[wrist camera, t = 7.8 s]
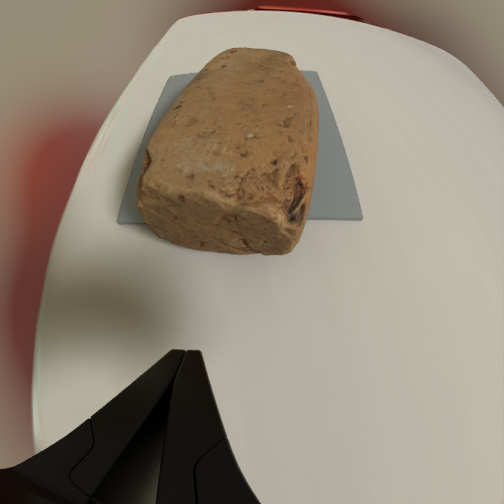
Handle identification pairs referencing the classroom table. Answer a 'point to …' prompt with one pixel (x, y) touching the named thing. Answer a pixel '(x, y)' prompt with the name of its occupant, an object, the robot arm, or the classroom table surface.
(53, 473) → the robot arm
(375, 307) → the classroom table surface
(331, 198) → the mat
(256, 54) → the block
